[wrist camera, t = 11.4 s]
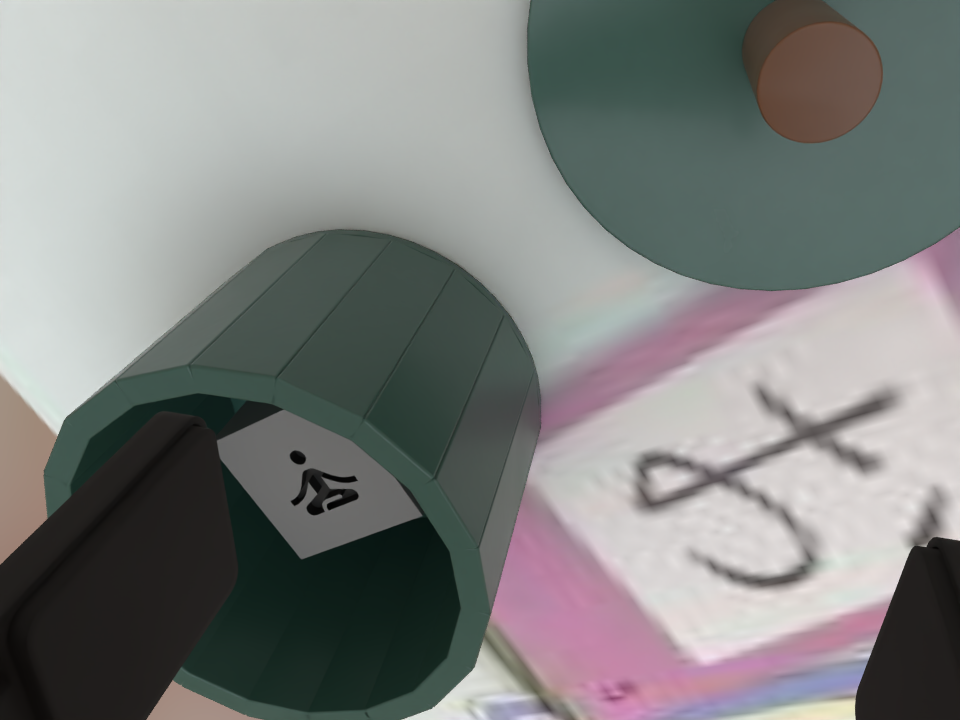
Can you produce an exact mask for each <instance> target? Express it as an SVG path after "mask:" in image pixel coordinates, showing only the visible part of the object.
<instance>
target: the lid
mask: <svg viewBox="0 0 960 720" xmlns="http://www.w3.org/2000/svg"><path fill="white" fill-rule="evenodd" d="M527 64H528V72H529V80H530V87H531V95H532V100H533V104H534V107H535V111H536V115H537V119H538V123H539V127H540V130H541V132H542V135H543V137H544V140H545V142H546V145H547V147H548V150H549V152H550V155H551V157H552V159H553V161H554V162H555V164H556V166H557V168H558V170H559V171H560V173H561V175H562V177H563V178H564V180H565V182H566V184H567V185H568V186H569V188H570V189H571V191H572V192H573V193H574V195H575V196H576V197H577V199H578V200H579V201H580V203H581V204H582V205H583V207H584V208H585V209H586V210H587V211H588V212H589V213H590V214H591V215H592V216H593V217H594V218H595V219H596V220H597V221H598V222H599V223H600V224H601V225H602V226H603V227H604V228H605V229H606V230H607V231H608V232H609V233H611V234H612V235H613V236H614V237H616V238H617V239H618V240H619V241H621V242H622V243H623V244H624V245H626V246H627V247H628V248H630V249H632V250H633V251H635V252H637V253H638V254H640V255H642V256H643V257H645V258H647V259H648V260H650V261H652V262H653V263H655V264H657V265H660V266H662V267H664V268H666V269H669V270H671V271H673V272H676V273H678V274H680V275H683V276H686V277H689V278H693V279H696V280H699V281H703V282H706V283H709V284H714V285H720V286H726V287H732V288H738V289H748V290H766V291H779V290H796V289H808V288H813V287H819V286H825V285H831V284H837V283H841V282H844V281H848V280H851V279H855V278H858V277H862V276H865V275H869V274H872V273H874V272H877V271H879V270H882V269H884V268H887V267H889V266H891V265H894V264H896V263H899V262H901V261H904V260H906V259H907V258H909V257H911V256H913V255H915V254H917V253H919V252H921V251H922V250H924V249H926V248H928V247H930V246H932V245H934V244H936V243H937V242H939V241H940V240H941V239H943V238H944V237H946V236H947V235H949V234H950V233H952V232H953V231H955V230H956V229H958V228H959V227H960V0H531V1H530V9H529V18H528V26H527Z"/></svg>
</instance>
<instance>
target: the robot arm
mask: <svg viewBox="0 0 960 720" xmlns="http://www.w3.org/2000/svg"><path fill="white" fill-rule="evenodd" d="M237 576H238V561H237V555H236V549H235V544H234V538H233V532H232V526H231V520H230V515H229V509H228V503H227V497H226V491H225V485H224V480H223V474H222V468H221V462H220V456H219V450H218V445H217V439H216V435H215V433H214V431H213V430H212V429H209V428H207V426H206V423H205V421H204V420H203V419H202V418H200V417H198V416H192V415H186V414H180V413H174V412H168V411H162V412H158V413H157V414H156V415H154V416H153V417H152V418H151V419H150V420H149V421H148V422H147V423H146V424H145V425H144V426H143V427H142V428H141V429H140V430H139V431H138V432H137V433H136V434H135V435H134V436H132V437H131V438H130V439H129V440H128V441H127V442H126V443H125V444H124V445H123V446H122V447H121V448H120V449H119V450H118V451H117V452H116V453H115V454H114V455H113V456H112V457H111V458H110V459H109V460H108V461H107V462H106V463H105V464H104V465H103V466H102V467H101V468H100V469H98V470H97V471H96V472H95V473H94V474H93V475H92V476H91V477H90V478H89V479H88V480H87V481H86V482H85V483H84V484H83V485H82V486H81V487H80V488H79V489H78V490H77V491H76V492H75V493H74V494H73V495H72V496H71V497H70V498H69V499H68V500H67V501H66V502H64V503H63V504H62V505H61V506H60V507H59V508H58V509H57V510H56V511H55V512H54V513H53V514H52V515H51V516H50V517H49V518H48V519H47V520H46V521H45V522H44V523H43V524H42V525H41V526H40V527H39V528H38V529H37V530H36V531H35V532H34V533H33V534H32V535H30V537H28V539H26V540H25V541H24V542H23V544H21V545H20V546H19V547H18V548H17V549H16V550H15V551H14V552H13V553H12V554H11V555H10V556H9V557H8V558H7V559H6V560H5V561H4V562H3V563H2V564H1V565H0V720H146V719H147V718H148V716H149V715H150V713H151V712H152V710H153V709H154V707H155V706H156V704H157V703H158V701H159V700H160V698H161V697H162V695H163V694H164V692H165V691H166V689H167V688H168V686H169V685H170V683H171V682H172V680H173V679H174V677H175V676H176V674H177V673H178V671H179V670H180V668H181V667H182V665H183V664H184V662H185V661H186V659H187V658H188V656H189V655H190V653H191V652H192V650H193V649H194V647H195V646H196V644H197V643H198V641H199V640H200V638H201V637H202V635H203V634H204V632H205V631H206V629H207V628H208V626H209V625H210V623H211V622H212V620H213V619H214V617H215V616H216V614H217V613H218V611H219V610H220V608H221V607H222V605H223V604H224V602H225V601H226V599H227V598H228V596H229V595H230V593H231V592H232V590H233V588H234V586H235V583H236V580H237ZM855 716H856V720H960V541H958V540H952V539H945V538H939V537H935V538H932V539H931V540H930V541H929V543H928V545H927V547H921V546H914V547H913V548H912V549H911V551H910V553H909V556H908V558H907V561H906V564H905V566H904V569H903V571H902V574H901V577H900V579H899V582H898V585H897V587H896V590H895V592H894V595H893V598H892V600H891V603H890V606H889V608H888V611H887V613H886V616H885V619H884V621H883V624H882V626H881V629H880V632H879V634H878V637H877V640H876V642H875V645H874V647H873V650H872V653H871V655H870V658H869V661H868V663H867V666H866V668H865V671H864V674H863V676H862V679H861V682H860V684H859V687H858V690H857V694H856V702H855Z"/></svg>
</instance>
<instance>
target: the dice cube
mask: <svg viewBox="0 0 960 720" xmlns="http://www.w3.org/2000/svg"><path fill="white" fill-rule="evenodd" d="M216 439H217V445H218V450H219V456H220V459H221V460H222V462H223V463H224V464H225V465H226V467H227V468H228V469H229V470H230V472H231V473H232V474H233V475H234V476H235V478H236V479H237V480H238V481H239V483H240V484H241V485H242V486H243V488H244V489H245V490H246V491H247V493H248V494H249V495H250V496H251V498H252V499H253V500H254V501H255V503H256V504H257V505H258V506H259V508H260V509H261V510H262V511H263V512H264V514H265V515H266V516H267V517H268V519H269V520H270V521H271V522H272V524H273V525H274V526H275V527H276V529H277V530H278V531H279V532H280V534H281V535H282V536H283V537H284V539H285V540H286V541H287V542H288V544H289V545H290V546H291V547H292V548H293V550H294V551H295V552H296V553H297V555H298V556H299V557H300V558H301V559H304V558H307V557H310V556H313V555H315V554H318V553H321V552H324V551H326V550H329V549H332V548H335V547H338V546H340V545H343V544H346V543H349V542H351V541H354V540H357V539H360V538H363V537H365V536H368V535H371V534H374V533H376V532H379V531H382V530H385V529H388V528H390V527H393V526H396V525H399V524H401V523H404V522H407V521H410V520H413V519H415V518H418V517H421V516H423V514H424V511H423V509H422V508H421V506H420V505H419V503H418V502H417V500H416V499H415V497H414V495H413V494H412V492H411V491H410V490H409V489H408V488H407V487H406V486H404V485H403V484H402V483H401V482H400V481H399V480H397V479H396V478H395V477H394V476H393V475H391V474H390V473H389V472H388V471H387V470H386V469H384V468H383V467H382V466H381V465H380V464H378V463H377V462H376V461H375V460H374V459H372V458H371V457H370V456H369V455H368V454H367V453H365V452H364V451H363V450H362V449H361V448H359V447H358V446H357V445H356V444H355V443H354V442H352V441H351V440H349V439H347V438H344V437H342V436H340V435H338V434H336V433H334V432H331V431H329V430H327V429H325V428H323V427H321V426H318V425H316V424H314V423H312V422H310V421H307V420H305V419H303V418H301V417H299V416H297V415H294V414H292V413H290V412H288V411H286V410H284V409H281V408H279V407H277V406H275V405H273V404H267V403H261V402H254V401H246V402H245V403H244V404H243V405H242V407H241V408H240V409H239V410H238V411H237V412H236V413H235V415H234V416H233V417H232V418H231V419H230V420H229V422H228V423H227V424H226V425H225V426H224V427H223V429H222V430H221V431H220V432H219V433H218V434H217V436H216Z"/></svg>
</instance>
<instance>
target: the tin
mask: <svg viewBox="0 0 960 720" xmlns="http://www.w3.org/2000/svg"><path fill="white" fill-rule="evenodd" d="M246 401H254V402H261V403H267V404H273V405H275V406H277V407H279V408H281V409H284V410H286V411H288V412H290V413H292V414H294V415H297V416H299V417H301V418H303V419H305V420H307V421H310V422H312V423H314V424H316V425H318V426H321V427H323V428H325V429H327V430H329V431H331V432H334V433H336V434H338V435H340V436H342V437H344V438H347V439H349V440H351V441H352V442H354V443H355V444H356V445H357V446H358V447H359V448H361V449H362V450H363V451H364V452H365V453H367V454H368V455H369V456H370V457H371V458H372V459H374V460H375V461H376V462H377V463H378V464H380V465H381V466H382V467H383V468H384V469H386V470H387V471H388V472H389V473H390V474H391V475H393V476H394V477H395V478H396V479H397V480H399V481H400V482H401V483H402V484H403V485H404V486H406V487H407V488H408V489H409V490H410V491H411V492H412V494H413V495H414V497H415V499H416V500H417V502H418V503H419V505H420V506H421V508H422V509H423V511H424V514H423V516H421V517H418V518H415V519H413V520H410V521H407V522H404V523H401V524H399V525H396V526H393V527H390V528H388V529H385V530H382V531H379V532H376V533H374V534H371V535H368V536H365V537H363V538H360V539H357V540H354V541H351V542H349V543H346V544H343V545H340V546H338V547H335V548H332V549H329V550H326V551H324V552H321V553H318V554H315V555H313V556H310V557H307V558H304V559H301V558H300V557H299V556H298V555H297V553H296V552H295V551H294V550H293V548H292V547H291V546H290V545H289V544H288V542H287V541H286V540H285V539H284V537H283V536H282V535H281V534H280V532H279V531H278V530H277V529H276V527H275V526H274V525H273V524H272V522H271V521H270V520H269V519H268V517H267V516H266V515H265V514H264V512H263V511H262V510H261V509H260V508H259V506H258V505H257V504H256V503H255V501H254V500H253V499H252V498H251V496H250V495H249V494H248V493H247V491H246V490H245V489H244V488H243V486H242V485H241V484H240V483H239V481H238V480H237V479H236V478H235V476H234V475H233V474H232V473H231V472H230V470H229V469H228V468H227V467H226V465H225V464H224V463H223V462H222V460H221V459H220V462H221V468H222V474H223V480H224V485H225V491H226V497H227V503H228V509H229V515H230V520H231V526H232V532H233V538H234V544H235V549H236V555H237V561H238V576H237V580H236V583H235V586H234V588H233V590H232V592H231V593H230V595H229V596H228V598H227V599H226V601H225V602H224V604H223V605H222V607H221V608H220V610H219V611H218V613H217V614H216V616H215V617H214V619H213V620H212V622H211V623H210V625H209V626H208V628H207V629H206V631H205V632H204V634H203V635H202V637H201V638H200V640H199V641H198V643H197V644H196V646H195V647H194V649H193V650H192V652H191V653H190V655H189V656H188V658H187V659H186V661H185V662H184V664H183V665H182V667H181V668H180V670H179V671H178V673H177V674H176V676H175V677H174V679H173V680H174V681H175V682H176V683H178V684H180V685H182V686H183V687H184V688H187V689H189V690H191V691H193V692H196V693H197V694H200V695H202V696H204V697H206V698H209V699H211V700H213V701H215V702H217V703H220V704H222V705H224V706H226V707H228V708H230V709H233V710H235V711H237V712H239V713H242V714H244V715H247V716H249V717H254V718H258V719H263V720H402V719H405V718H407V717H410V716H413V715H416V714H418V713H421V712H424V711H427V710H429V709H432V708H433V707H435V706H436V705H437V704H438V703H439V702H440V701H441V700H442V699H443V698H444V697H445V696H446V695H447V694H448V693H449V692H450V691H451V690H452V689H453V688H454V687H455V686H456V685H457V684H459V683H460V682H461V681H462V680H463V679H464V678H465V677H466V676H467V675H468V674H469V673H470V672H471V671H472V670H473V668H474V667H475V664H476V661H477V658H478V655H479V651H480V648H481V645H482V642H483V638H484V635H485V632H486V629H487V625H488V622H489V619H490V616H491V612H492V608H493V605H494V601H495V597H496V593H497V590H498V586H499V582H500V578H501V575H502V571H503V567H504V563H505V560H506V556H507V552H508V548H509V545H510V541H511V537H512V533H513V530H514V526H515V522H516V518H517V515H518V511H519V507H520V503H521V500H522V496H523V492H524V488H525V485H526V481H527V477H528V473H529V470H530V466H531V462H532V458H533V455H534V451H535V447H536V444H537V440H538V436H539V432H540V429H541V395H540V389H539V382H538V376H537V373H536V369H535V366H534V363H533V359H532V356H531V354H530V352H529V349H528V347H527V345H526V343H525V341H524V338H523V336H522V335H521V333H520V331H519V330H518V328H517V327H516V325H515V323H514V322H513V320H512V319H511V317H510V315H509V314H508V313H507V312H506V310H505V309H504V308H503V307H502V306H501V304H500V303H499V302H498V301H497V299H496V298H495V297H494V296H493V295H492V294H491V293H490V292H489V291H488V290H487V289H486V288H485V287H484V286H483V285H482V284H481V283H480V282H478V281H477V280H476V279H475V278H474V277H472V276H471V275H470V274H468V273H467V272H466V271H464V270H463V269H462V268H460V267H459V266H458V265H456V264H455V263H453V262H451V261H450V260H448V259H446V258H444V257H443V256H441V255H439V254H438V253H436V252H434V251H432V250H429V249H427V248H425V247H423V246H420V245H418V244H416V243H413V242H411V241H407V240H404V239H401V238H397V237H394V236H391V235H387V234H381V233H375V232H369V231H361V230H330V231H319V232H314V233H310V234H306V235H301V236H297V237H294V238H292V239H289V240H287V241H284V242H282V243H279V244H277V245H275V246H273V247H271V248H268V249H266V250H265V251H264V252H263V253H261V254H260V255H259V256H258V257H256V258H255V259H254V260H253V261H251V262H250V263H249V264H247V265H246V266H245V267H244V268H242V269H241V270H240V271H239V272H237V273H236V274H235V275H234V276H232V277H231V278H230V279H228V280H227V281H226V282H225V283H224V284H223V285H221V286H220V287H219V288H218V289H217V290H216V291H214V292H213V293H212V294H211V295H210V296H208V297H207V298H206V299H205V300H204V301H203V302H201V303H200V304H199V305H198V306H197V307H196V308H194V309H193V310H192V311H191V312H190V313H188V314H187V315H186V316H185V317H184V318H183V319H181V320H180V321H179V322H178V323H177V324H175V325H174V326H173V327H172V328H171V329H170V330H168V331H167V332H166V333H165V334H164V335H163V336H161V337H160V338H159V339H158V340H157V341H155V342H154V343H153V344H152V345H151V346H150V347H148V348H147V349H146V350H145V351H144V352H143V353H141V354H140V355H139V356H138V357H137V358H135V359H134V360H133V361H132V362H131V363H130V364H128V365H127V366H126V367H125V368H124V369H123V370H121V371H120V372H119V373H118V374H117V375H115V376H114V377H113V378H112V379H111V380H110V381H108V382H107V383H106V384H105V385H104V386H102V387H101V388H100V389H99V390H98V391H97V392H95V393H94V394H93V395H92V396H91V397H90V398H88V399H87V400H86V401H85V402H84V403H82V404H81V405H80V406H79V407H78V408H77V409H75V410H74V411H73V412H72V413H71V414H70V415H68V416H67V417H66V419H65V420H64V422H63V424H62V427H61V429H60V432H59V434H58V437H57V439H56V442H55V444H54V447H53V449H52V452H51V455H50V457H49V459H48V462H47V465H46V467H45V469H44V486H45V495H46V507H47V517H48V518H49V517H50V516H51V515H52V514H53V513H54V512H55V511H56V510H57V509H58V508H59V507H60V506H61V505H62V504H63V503H64V502H66V501H67V500H68V499H69V498H70V497H71V496H72V495H73V494H74V493H75V492H76V491H77V490H78V489H79V488H80V487H81V486H82V485H83V484H84V483H85V482H86V481H87V480H88V479H89V478H90V477H91V476H92V475H93V474H94V473H95V472H96V471H97V470H98V469H100V468H101V467H102V466H103V465H104V464H105V463H106V462H107V461H108V460H109V459H110V458H111V457H112V456H113V455H114V454H115V453H116V452H117V451H118V450H119V449H120V448H121V447H122V446H123V445H124V444H125V443H126V442H127V441H128V440H129V439H130V438H131V437H132V436H134V435H135V434H136V433H137V432H138V431H139V430H140V429H141V428H142V427H143V426H144V425H145V424H146V423H147V422H148V421H149V420H150V419H151V418H152V417H153V416H154V415H156V414H157V413H158V412H162V411H168V412H174V413H180V414H186V415H192V416H198V417H200V418H202V419H203V420H204V421H205V423H206V426H207V428H209V429H212V430H213V431H214V433H215V435H216V436H217V434H218V433H219V432H220V431H221V430H222V429H223V427H224V426H225V425H226V424H227V423H228V422H229V420H230V419H231V418H232V417H233V416H234V415H235V413H236V412H237V411H238V410H239V409H240V408H241V407H242V405H243V404H244V403H245V402H246Z"/></svg>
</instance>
